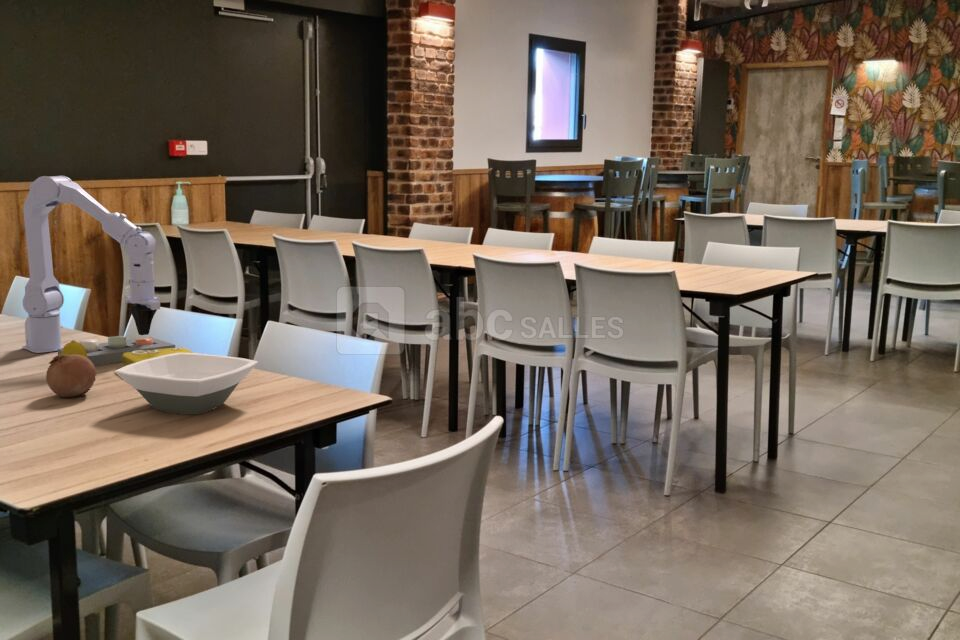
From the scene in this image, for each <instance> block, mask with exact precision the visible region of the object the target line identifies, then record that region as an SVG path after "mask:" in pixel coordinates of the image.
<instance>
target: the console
mask: <svg viewBox="0 0 960 640" xmlns="http://www.w3.org/2000/svg"><path fill="white" fill-rule="evenodd" d="M148 338H152V339H153V344H152V345H144V346H138V345H136V344H135V339H136V338H133V339H126V348H120V349H113V350H112V349H109V348H108V342H103V343H102V342H100V343H98V345H99V351H97V352H89V353H87V358H88V359H89V360H90V361H91V362H92V363H93V365H94V367H95V366H96V367H97V366H102V365H111V364H117V362H118V363H123V356H122V355H123V354H124V353H127V352H133V351H137V350H144V351H147V350H156V349H166V348H176V344H174V343H171V342H168V341H167V342H166V341H165V340H161V339H157V338H154V337H152V336H151V337H148ZM62 349H63V348H59V349H58V351H57V355H61V352H62ZM110 363H111V364H110Z"/></svg>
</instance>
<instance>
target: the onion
mask: <svg viewBox="0 0 960 640" xmlns="http://www.w3.org/2000/svg"><path fill="white" fill-rule="evenodd" d="M49 364H50V365H49ZM48 365H49V366H48V367H47V370H46V376H45V378H46V383H47V385H48V387H49V389H50V390H51V391H52V392H53V393H54V394H56V395H57V396H59V397H62V398H65V399H66V398H72V397H73V398H74V397H83V396H84V395H85V394H87V393H88V392H89V391H90V390H91V389H92V387H93V386H94V383H95V382H96V375H97V371H96V367H95V366H94V365H93V363H92V362H91V361H90V360H89V359H88V358H87V357H85V356H82V355H66V354H62V355H58V354H57V355H56V356H54V357H52V360H51V361H49V362H48Z"/></svg>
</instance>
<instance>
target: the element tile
mask: <svg viewBox="0 0 960 640" xmlns="http://www.w3.org/2000/svg"><path fill="white" fill-rule="evenodd" d="M174 353H195V352H193V351H191V350H189V349H187V348H185V347H182V346H177V347H176V346H175V348H166V349H156V350H147V351H144V350H137V351H133V352H127V353H124V354H123V355H122V356H123V362H122V367H125V366H127V365H130V364H133V363H136V362H139V361H142V360H146V359H150V358H154V357H159V356H163V355H168V354H174Z"/></svg>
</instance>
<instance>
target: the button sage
mask: <svg viewBox="0 0 960 640" xmlns="http://www.w3.org/2000/svg"><path fill="white" fill-rule="evenodd" d="M126 340H127V336H124V335H116V336H115V335H113V336H109V337H107V343H108V348H109V349H112V350H113V349H120V348H126Z"/></svg>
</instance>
